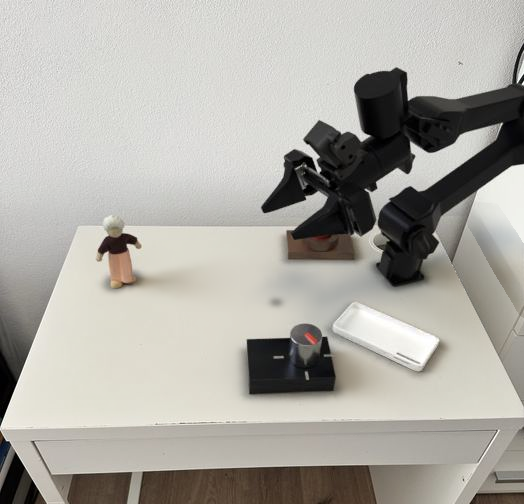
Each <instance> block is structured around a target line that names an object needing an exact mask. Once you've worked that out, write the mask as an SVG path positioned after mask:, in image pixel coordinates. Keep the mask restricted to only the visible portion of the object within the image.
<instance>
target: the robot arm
mask: <svg viewBox="0 0 524 504" xmlns="http://www.w3.org/2000/svg"><path fill="white" fill-rule="evenodd" d="M408 79H409V78H408V72H407V71H405V70H403V69H401V68H399V67H397V66H395V67H394V68H392V69H390V70H379V71H375V72H371V73H366V74H364V75H362V76H361V77H359V78H358V79H357V81H356V82H355V83H354V86H353V93H354V99H355V104H356V111H357V116H358V121H359V126H360V130H361V131H362V133H363V134H364V135H367V136H368V137H367V138H365V139H364V140H362V141H361V139H360V138H359V137H358V136H357V134H355V133H353V132H351V131H345V132H343V133H342V132H341V131H340V130H337V129H336V128H335V127H334V126H332V125H330V124H329V123H326V122H324V121H322V120H321V119H318V120H317V122H315V124H314V125H313V126H312V128H310V129H309V131H308V132H307V133H306V134H305V136H304V137H303V138H302V140H303V142H304V143H305V145H307V146H309V147H310V148H311V149H312V150H313V151H314V152H315V154H317V156H318V158H316V160H314V158H313V157H312V156H310V155H309V154H307V153H306V152H304V151H302V150H300V149H297V148H294V149H291V150H290V151H288V152H287V153H286V154H284V155H283V161H284V162H283V165H282V166H283V168H284V170H283V176H282V178H281V179H280V182H279V183H278V184H277V185H276V187H275V189H274V190H273V191H272V192H271V193H270V195H269V196H268V197H267V198H266V200H265V201H264V202H263V203H262V205H261V206H260V209H261V211H262V213H263V214H269V213H272V212H276V211H278V210H281V209H285V208H288V207H290V206H293V205H296V204H299V203H302V202H304V201H307V198H306V197H309V196H313V195H315V194H316V193H318V192H319V193H320V194H322V195H324V196H325V197H326V200H325V202H324V204H323V206H322V207H321V208H320V209H318V210H316V212H314V213H313V214H312V215H310V216H309V217H308V218H306V219H305V220H304V221H303V222H301V223H300V224H298V226H296V227H295V228H294V229H292V230H293V231H292V232H291V236H292V238H293V239H294V240H298V239H305V238H312V237H320V236H329V235H341V234H349V235H350V236H351V237H352V236H354V235H355V234H356V235H358V236H359V237H361V238H362V237H363V236H365V235H366V234H368V233H370V232H371V231H372V230H373V229H374V227H375V225H376V222H377V227H378V229H379V231H380V234H381V236H383V237H385V238H386V239H387V241H386V243H385V247H384V250H382V252H381V257H380V261H379V262H376V263H375V267H376V269H377V270H378V271H379V272H380V273H381V275H382V276H383V277H384V278H385V279H386V281H387V282H388V283H389V284H390V285H391V286H392V287H398V286H403V285H407V284H412V283H415V282H419V281H423V280H425V277H426V276H425V274H424V273H423V272H422V271H421V269H422V266H423V262H424V260H427V259H428V257H429V255H433V254H434V253H435V252H436V249H437V248H438V246H439V244H440V241H439V240H438V238H437V237H435V236H434V234H435V233H436V230H437V228H438V226H439V224H440V223H439V222H440V220H441V218H442V217H443V216H444V215H445V214H446V213H448V212H449V211H451V210H452V209H453V208H455V207H457V206H458V205H459V204H460V203H462V202H463V201H464V200H466V199H468V198H469V197H471V196H472V195H473V194H475V193H476V192H477V191H479V190H481V188H483V187H485V186H486V185H487V184H489V183H491V182H492V181H493V180H494V179H496V178H497V177H498V176H499V175H501V174H503V173H505V172H506V171H507V170H509V168H511V167H515V166H522V165H524V84H522V83H520V82H516V83H513V82H512V83H509V84H508V85H507V86H506V87H501V88H497V89H492V90H489V91H484V92H480V93H476V94H472V95H471V94H470V95H468V96H461V97H459V98H446V97H441V96H435V95H416V96H414V97H412V98H410V99H409V95H408V82H409V81H408ZM500 124H501V126H500V128H499V130H498V133H497V134H496V138H495V140H493V141H492V142H491V143H490V144H488V145H487V146H485V147H484V148H482V149H481V150H479V151H478V152H476V153H475V154H473V156H471V157H470V158H468V159H467V160H466V161H464V162H463V163H461V164H460V165H459V166H457V167H456V168H454V169H453V170H451V171H450V172H449V173H447V174H446V175H444V176H443V177H442V178H440V179H439V180H438V181H436V182H435V183H433V184H432V185H430V186H429V187H427V188H426V189H424V190H418V189H416V188H414V187H413V186H412V185H409V186H407V187H405V188H403V189H402V190H401V191H400V192H399V193H397V194H396V195H394V196H391V197H389V198H388V200H389V201H388V202H387V203H385V204H384V205H383V206H382V208H380V210H379V212H378V219H377V216H376V213H375V208H374V205H373V202H372V198H371V195H370V193H373V192H375V191H376V190H378V185H377V182H379V181H380V180H382V179H383V178H385V177H386V176H387V175H389V174H390V173H392V172H393V171H395V170H397V169H398V170H400V171H401V172H402V173H404V174H405V175H410V173H411V172H412V169H413V165H414V164H413V163H414V160H415V159H416V154H415V153H413V152H412V148H411V147H412V146H411V143H412V144H413V145H415V146H416V147H418V148H419V149H421V150H423V151H424V152H426V153H428V154H434V153H437V152H439V151H442V150H444V149H446V148H448V147H450V146H452V145H454V144H455V143H456V142H457V141H458V138H459V137H460V136H462V135H463V134H467V133H470V132H473V131H477V130H481V129H485V128H488V127H492V126H497V125H500ZM315 161H316V163H317V166H316V164H315ZM317 167H318V168H319V169H320V171H319V172H318V170H317Z"/></svg>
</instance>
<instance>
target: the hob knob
mask: <svg viewBox="0 0 524 504" xmlns="http://www.w3.org/2000/svg"><path fill="white" fill-rule="evenodd" d="M322 337H323V333H322V331H321V329H320V328H319V327H318V326H316V325H314V324H312V323H307V322H306V323H299V324H298V323H297V324H296V325H294V326H293V327H292V328H291V329H290V333H289V338H290V342H289V355H288V357H289V360H290V362H291V363H292V364H294V365H295V366H297V367H301V368H309V367H312V366H314V365H316V364H317V362H318V361H319V356H320V349H321V342H322Z"/></svg>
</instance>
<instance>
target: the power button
mask: <svg viewBox="0 0 524 504" xmlns="http://www.w3.org/2000/svg"><path fill="white" fill-rule="evenodd" d="M329 237H330V235H329V236H320V237H313V238H316V239H328V238H329Z"/></svg>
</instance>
